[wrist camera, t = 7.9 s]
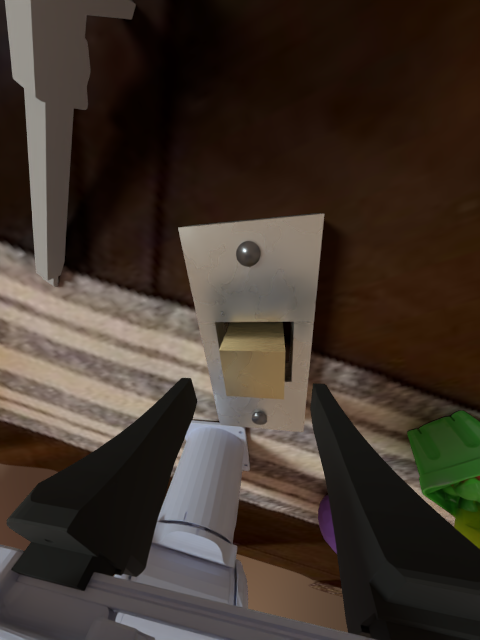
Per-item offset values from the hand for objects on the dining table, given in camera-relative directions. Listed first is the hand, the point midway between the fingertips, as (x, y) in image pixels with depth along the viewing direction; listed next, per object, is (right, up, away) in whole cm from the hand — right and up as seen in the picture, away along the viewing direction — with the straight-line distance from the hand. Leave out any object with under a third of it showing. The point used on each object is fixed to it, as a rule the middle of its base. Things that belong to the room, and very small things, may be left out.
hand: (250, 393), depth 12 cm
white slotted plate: (+1, +3, +5) cm, 6 cm away
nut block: (+1, +3, +5) cm, 6 cm away
